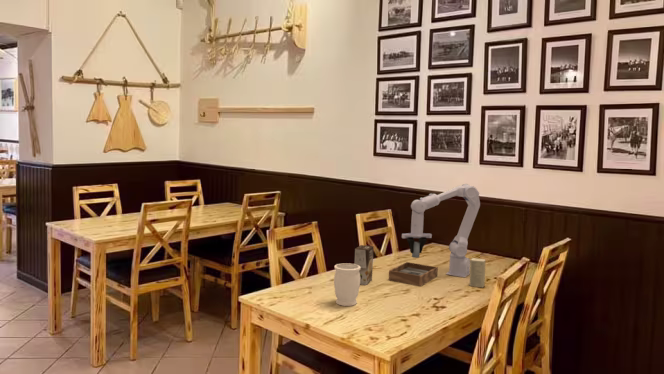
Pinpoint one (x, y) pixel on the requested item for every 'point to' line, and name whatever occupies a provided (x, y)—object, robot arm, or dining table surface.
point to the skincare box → (477, 272)
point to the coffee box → (364, 263)
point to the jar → (346, 283)
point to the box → (413, 273)
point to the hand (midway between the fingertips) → (415, 252)
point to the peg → (416, 250)
